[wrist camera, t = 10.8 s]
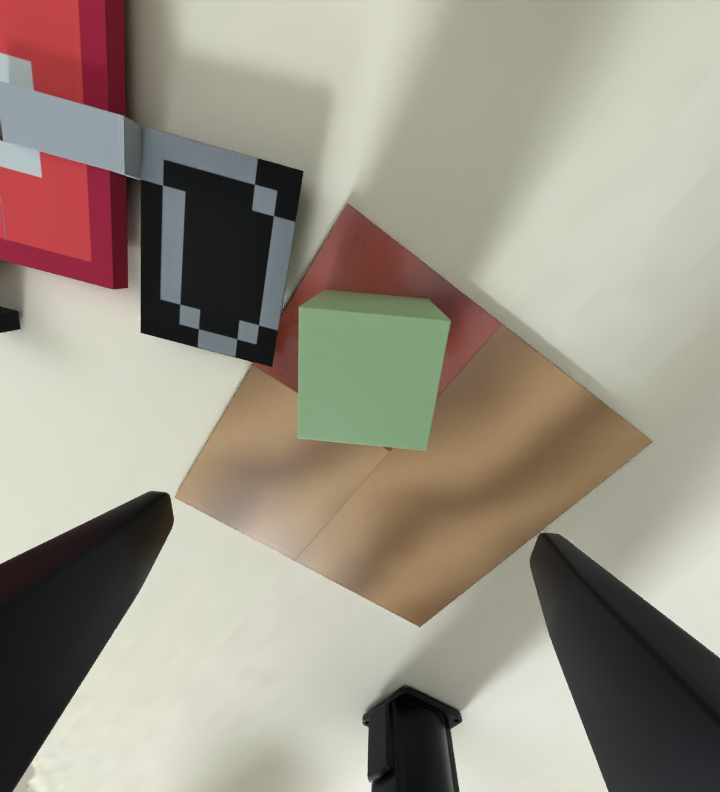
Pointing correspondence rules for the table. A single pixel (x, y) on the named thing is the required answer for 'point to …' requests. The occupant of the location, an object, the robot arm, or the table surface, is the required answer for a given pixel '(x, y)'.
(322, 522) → the brown red square board
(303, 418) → the green nearly cubic block
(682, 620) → the table surface
